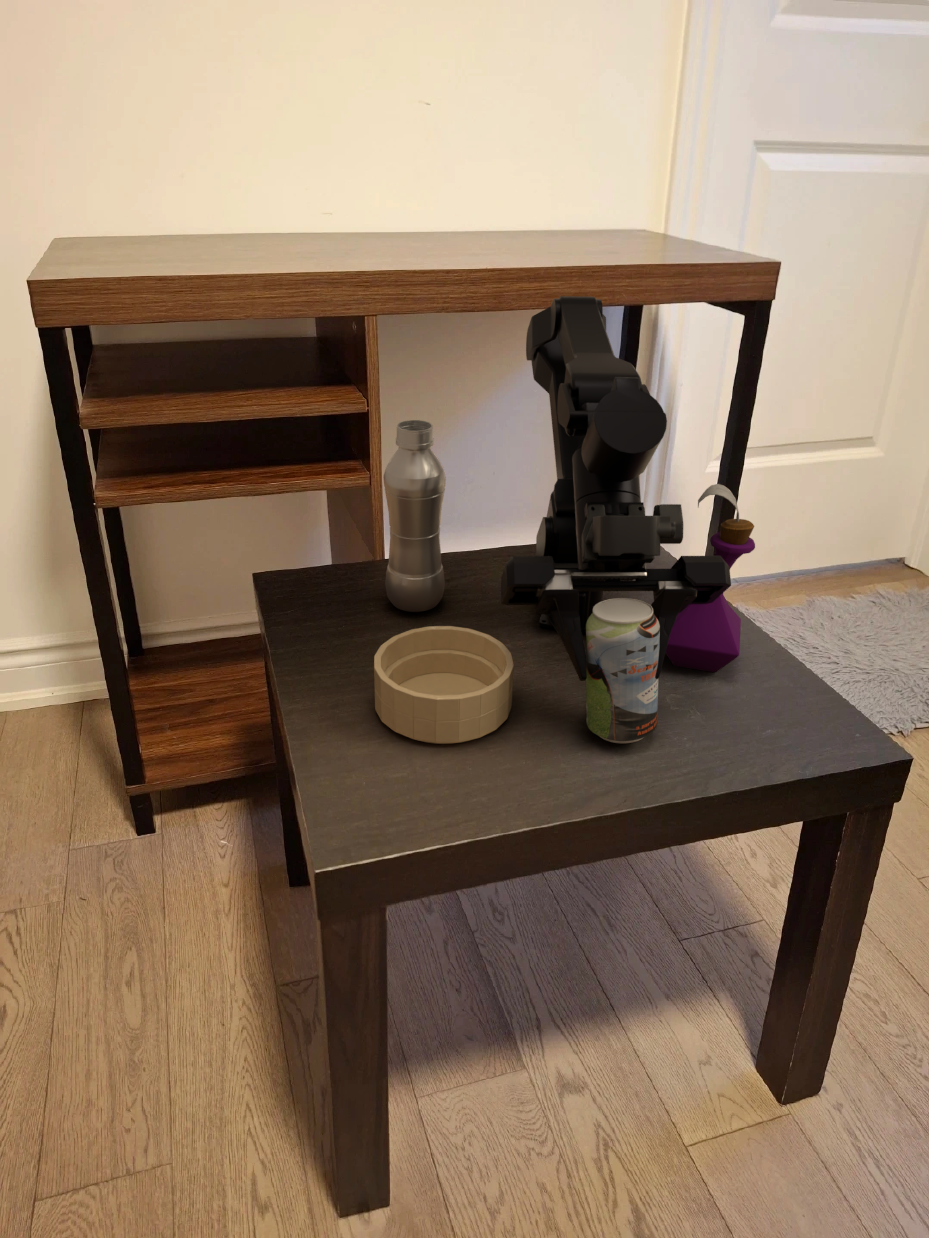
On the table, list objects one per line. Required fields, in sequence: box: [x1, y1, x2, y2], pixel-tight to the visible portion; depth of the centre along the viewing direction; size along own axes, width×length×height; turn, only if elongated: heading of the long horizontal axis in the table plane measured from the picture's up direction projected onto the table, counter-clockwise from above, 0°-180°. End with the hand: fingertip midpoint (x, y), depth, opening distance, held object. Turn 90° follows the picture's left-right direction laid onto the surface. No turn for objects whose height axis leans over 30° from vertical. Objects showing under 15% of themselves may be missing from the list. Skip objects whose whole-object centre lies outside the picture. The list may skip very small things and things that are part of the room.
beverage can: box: [585, 597, 660, 744], centre depth 79 cm, size 6×7×12 cm
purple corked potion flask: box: [665, 483, 756, 673], centre depth 89 cm, size 8×8×18 cm
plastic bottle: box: [383, 419, 447, 613], centre depth 97 cm, size 6×7×20 cm
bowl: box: [373, 625, 515, 745], centre depth 84 cm, size 12×12×5 cm
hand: (619, 679), depth 78 cm, fingers closed on beverage can, 6 cm apart
